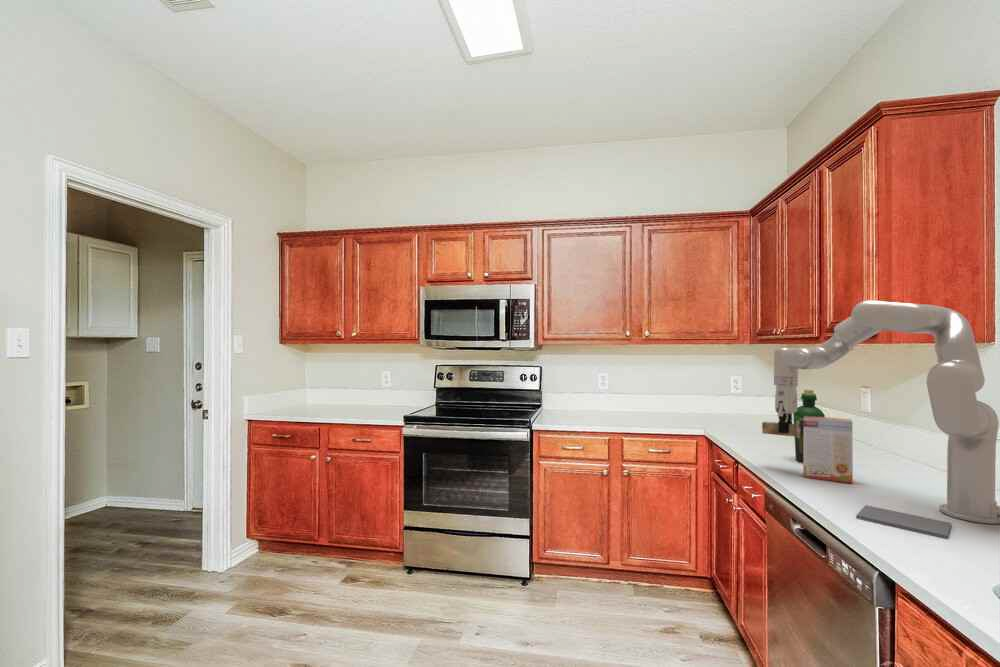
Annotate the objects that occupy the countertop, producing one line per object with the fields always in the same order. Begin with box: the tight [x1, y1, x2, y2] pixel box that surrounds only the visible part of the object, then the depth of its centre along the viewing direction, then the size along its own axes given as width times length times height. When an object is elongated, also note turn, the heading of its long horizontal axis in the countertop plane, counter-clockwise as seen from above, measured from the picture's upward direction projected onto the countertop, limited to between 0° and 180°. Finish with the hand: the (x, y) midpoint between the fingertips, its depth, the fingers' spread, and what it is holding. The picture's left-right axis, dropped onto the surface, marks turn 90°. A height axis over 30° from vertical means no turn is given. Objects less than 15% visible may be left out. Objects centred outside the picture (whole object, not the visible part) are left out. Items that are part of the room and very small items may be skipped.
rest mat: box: [855, 504, 952, 540], centre depth 128 cm, size 18×12×1 cm, turn 44°
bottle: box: [792, 389, 825, 464], centre depth 191 cm, size 11×11×28 cm
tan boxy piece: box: [761, 418, 804, 438], centre depth 178 cm, size 13×8×6 cm, turn 44°
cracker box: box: [802, 416, 854, 484], centre depth 168 cm, size 14×6×21 cm, turn 58°
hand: (785, 431), depth 177 cm, fingers closed on tan boxy piece, 3 cm apart
